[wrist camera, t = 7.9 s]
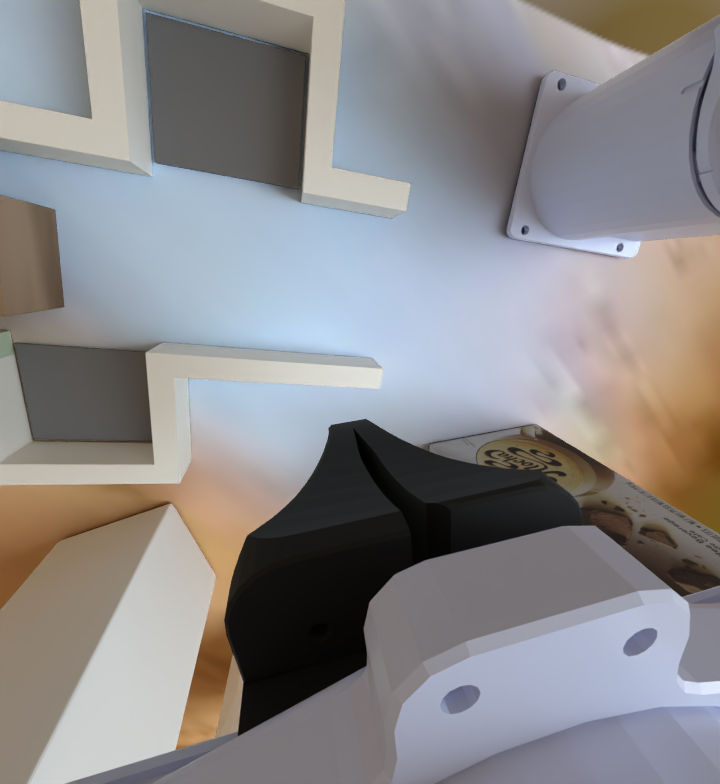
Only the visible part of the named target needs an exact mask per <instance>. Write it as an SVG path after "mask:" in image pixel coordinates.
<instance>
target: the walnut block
mask: <svg viewBox="0 0 720 784" xmlns="http://www.w3.org/2000/svg"><path fill="white" fill-rule="evenodd" d="M61 307H64V299H63V289H62V278H61V267H60V256H59V246H58V235H57V224H56V214H55V210H54V209H51V208H47V207H43V206H39V205H35V204H32V203H28V202H24V201H20V200H16V199H13V198H9V197H5V196H1V195H0V316H11V315H17V314H23V313H29V312H36V311H42V310H48V309H54V308H61Z"/></svg>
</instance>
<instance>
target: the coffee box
mask: <svg viewBox="0 0 720 784" xmlns="http://www.w3.org/2000/svg"><path fill="white" fill-rule="evenodd" d="M429 452H432V453H435V454H438V455H441V456H444V457H447V458H451V459H455V460H459V461H463V462H468V463H473V464H478V465H485V466H492V467H499V468H509V469H523V470H538V471H542V472H544V473H545V474H546V475H548V476H549V477H550V478H551V479H553V480H554V481H555V482H556V483H558V484H559V485H560V486H561V487H563V488H564V489H565V490H567V491H568V492H569V493H570V494H571V495H572V496H573V497H574V498H575V499H576V501H577V502H578V503H579V506H580V509H581V512H582V526H596V527H597V528H598V529H600V530H601V531H602V532H603V533H605V534H606V535H607V536H609V537H610V538H611V539H612V540H614V541H615V542H616V543H617V544H618V545H620V546H621V547H622V548H623V549H624V550H626V551H627V552H628V553H629V554H630V555H632V556H633V557H634V558H635V559H636V560H638V561H639V562H640V563H641V564H642V565H644V566H645V567H646V568H647V569H648V570H650V571H651V572H652V573H653V574H655V575H656V576H657V577H658V578H659V579H661V580H662V581H663V582H664V583H665V584H667V585H668V586H669V587H670V588H671V589H673V590H674V591H675V592H676V593H677V594H679V595H680V596H681V597H684V596H687V595H690V594H694V593H697V592H700V591H704V590H707V589H710V588H714V587H717V586H720V534H718V533H716V532H715V531H713V530H711V529H710V528H708V527H706V526H705V525H703V524H701V523H700V522H698V521H696V520H695V519H693V518H691V517H690V516H688V515H686V514H685V513H683V512H681V511H680V510H678V509H676V508H675V507H673V506H671V505H670V504H668V503H666V502H665V501H663V500H661V499H659V498H658V497H656V496H654V495H653V494H651V493H650V492H648V491H646V490H645V489H643V488H641V487H640V486H638V485H636V484H635V483H633V482H631V481H630V480H628V479H626V478H625V477H623V476H621V475H619V474H618V473H616V472H615V471H613V470H611V469H609V468H608V467H606V466H605V465H603V464H601V463H599V462H598V461H596V460H595V459H593V458H591V457H589V456H588V455H586V454H585V453H583V452H581V451H580V450H578V449H576V448H575V447H573V446H571V445H570V444H568V443H566V442H564V441H563V440H561V439H560V438H558V437H556V436H555V435H553V434H551V433H550V432H548V431H547V430H545V429H543V428H542V427H540V426H538V425H531V426H525V427H520V428H514V429H509V430H503V431H498V432H493V433H487V434H482V435H477V436H471V437H466V438H461V439H455V440H450V441H444V442H439V443H434V444H430V446H429Z"/></svg>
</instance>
